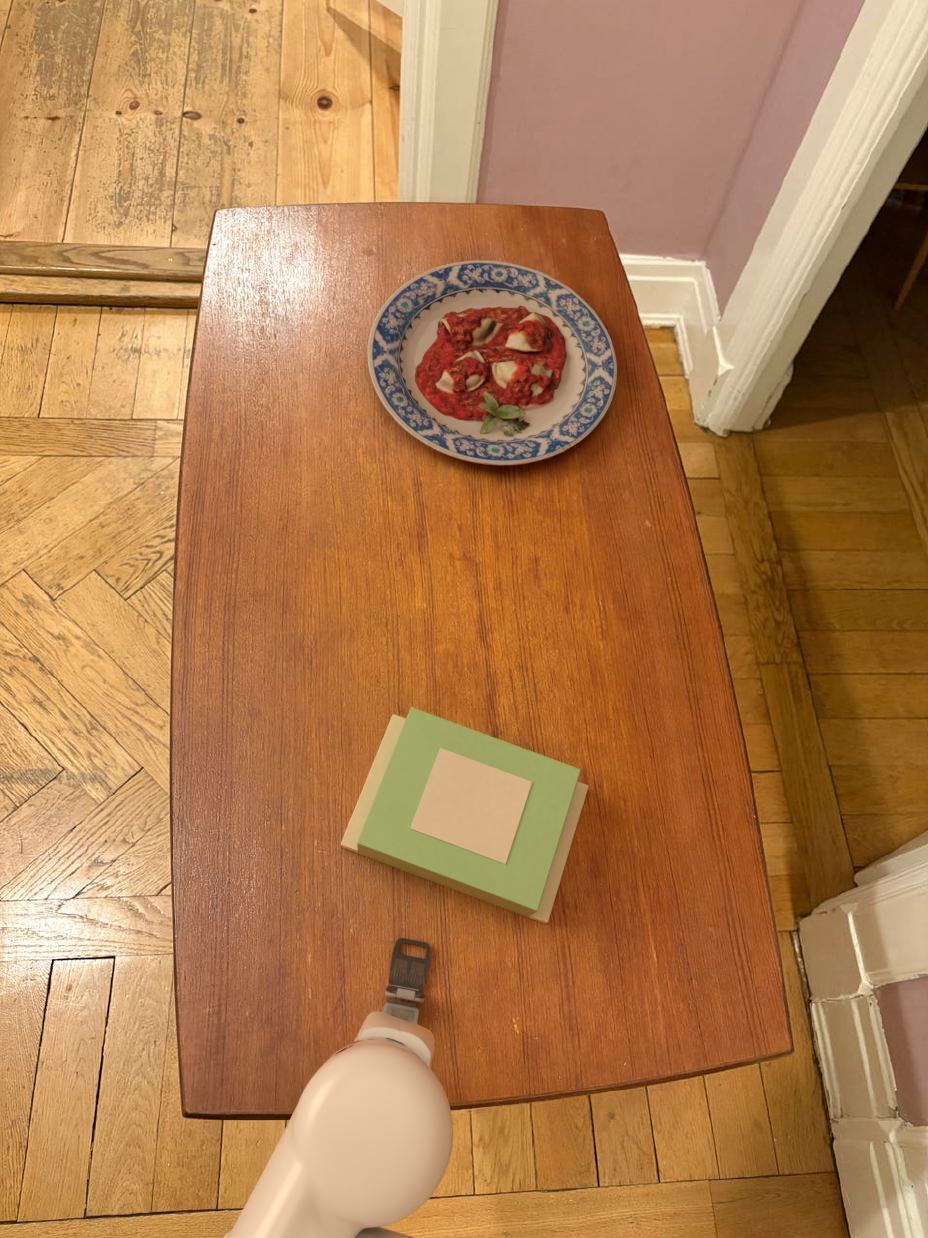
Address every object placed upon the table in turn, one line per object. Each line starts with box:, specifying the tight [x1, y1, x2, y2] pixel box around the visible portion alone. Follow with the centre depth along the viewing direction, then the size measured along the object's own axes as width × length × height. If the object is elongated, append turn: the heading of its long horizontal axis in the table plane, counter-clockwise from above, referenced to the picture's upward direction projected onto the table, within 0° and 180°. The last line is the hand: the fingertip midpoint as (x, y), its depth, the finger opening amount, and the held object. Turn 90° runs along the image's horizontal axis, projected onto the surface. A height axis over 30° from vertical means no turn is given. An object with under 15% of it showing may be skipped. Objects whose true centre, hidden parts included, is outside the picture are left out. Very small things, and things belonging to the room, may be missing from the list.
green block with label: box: [340, 706, 590, 925], centre depth 78 cm, size 12×18×5 cm, turn 71°
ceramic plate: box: [366, 259, 618, 466], centre depth 98 cm, size 26×26×3 cm
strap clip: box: [381, 937, 431, 1025], centre depth 72 cm, size 8×3×4 cm, turn 170°
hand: (371, 1087), depth 70 cm, fingers closed
